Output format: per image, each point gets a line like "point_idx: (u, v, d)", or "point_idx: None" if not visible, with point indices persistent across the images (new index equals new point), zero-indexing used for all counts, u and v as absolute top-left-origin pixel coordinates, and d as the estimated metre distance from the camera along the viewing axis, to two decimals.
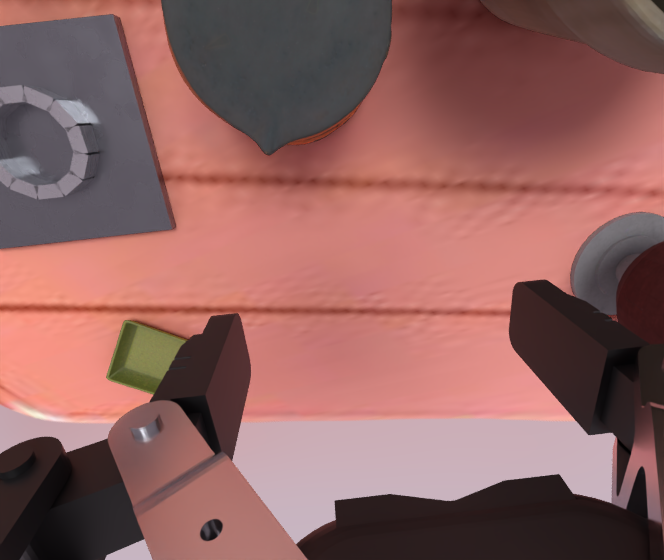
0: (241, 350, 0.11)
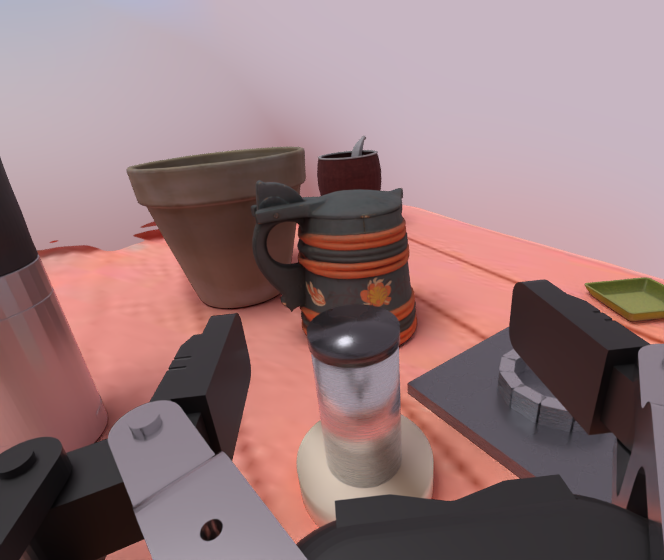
0: (241, 350, 0.11)
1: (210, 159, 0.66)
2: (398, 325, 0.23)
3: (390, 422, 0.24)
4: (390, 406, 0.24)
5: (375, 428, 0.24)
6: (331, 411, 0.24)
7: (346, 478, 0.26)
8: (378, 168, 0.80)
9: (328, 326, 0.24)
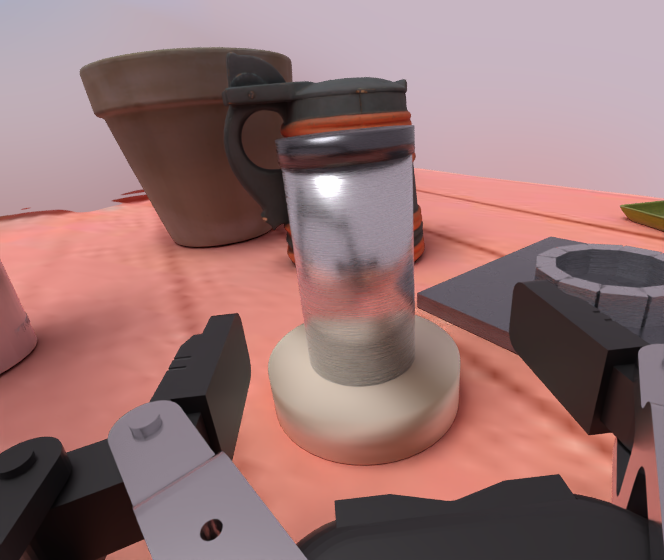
0: (241, 350, 0.11)
1: None
2: (412, 125, 0.16)
3: (400, 279, 0.16)
4: (401, 252, 0.16)
5: (377, 283, 0.16)
6: (312, 259, 0.16)
7: (337, 373, 0.18)
8: None
9: (307, 136, 0.16)
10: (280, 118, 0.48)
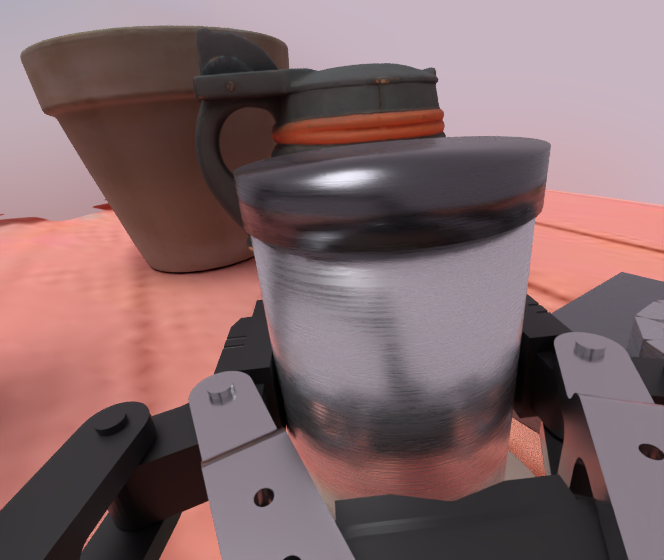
0: None
1: None
2: (535, 139, 0.07)
3: (496, 457, 0.08)
4: (503, 409, 0.08)
5: (455, 480, 0.07)
6: (314, 425, 0.08)
7: None
8: None
9: (304, 160, 0.08)
10: None
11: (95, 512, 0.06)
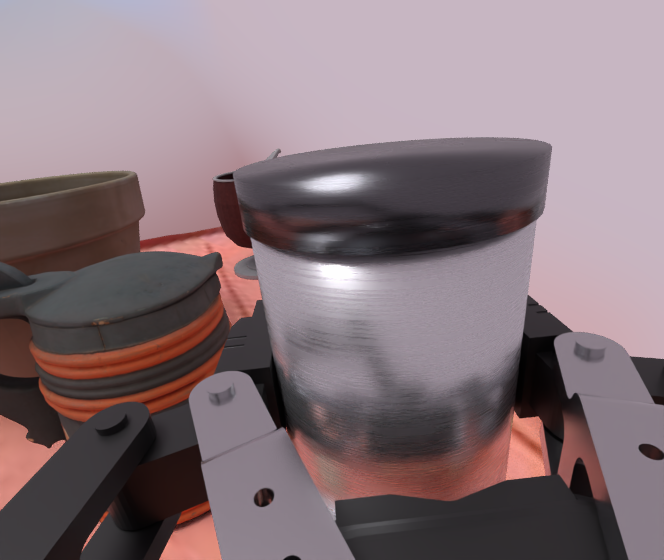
0: None
1: (35, 187, 0.49)
2: (536, 141, 0.07)
3: (497, 459, 0.08)
4: (504, 411, 0.07)
5: (456, 483, 0.07)
6: (314, 427, 0.07)
7: None
8: None
9: (304, 161, 0.08)
10: (111, 254, 0.38)
11: (95, 512, 0.06)
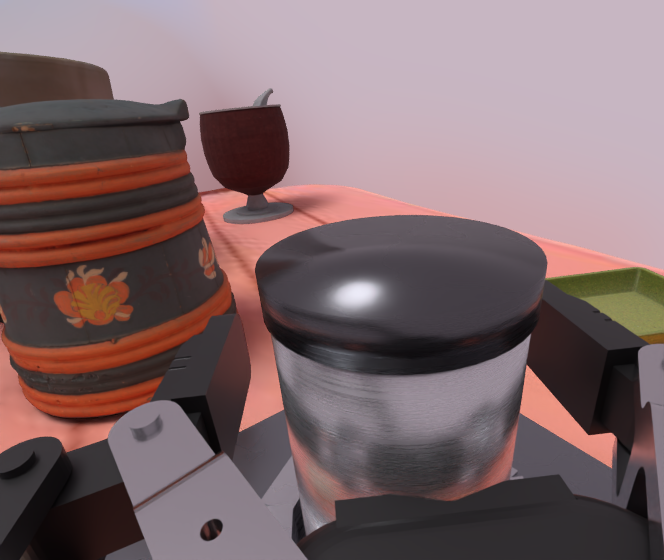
0: (241, 350, 0.11)
1: None
2: (534, 245, 0.08)
3: None
4: None
5: None
6: (326, 500, 0.08)
7: None
8: (279, 126, 0.59)
9: (319, 252, 0.08)
10: None
11: None
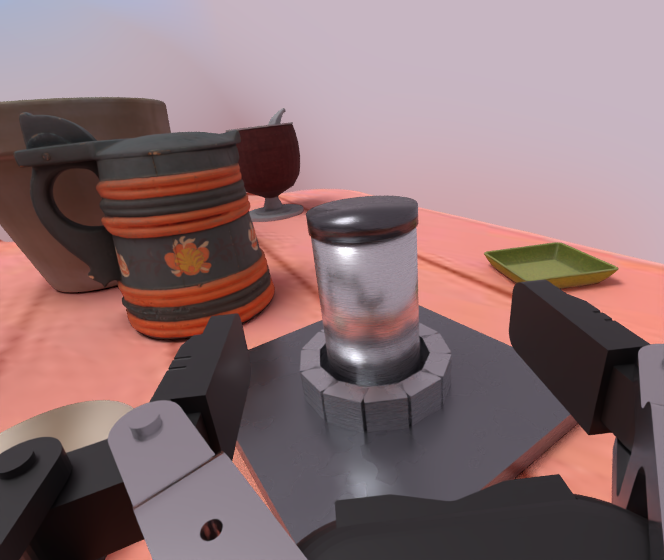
0: (241, 350, 0.11)
1: None
2: (416, 202, 0.20)
3: (407, 324, 0.20)
4: (408, 303, 0.20)
5: (389, 329, 0.20)
6: (336, 310, 0.20)
7: None
8: (292, 140, 0.72)
9: (331, 209, 0.20)
10: None
11: None
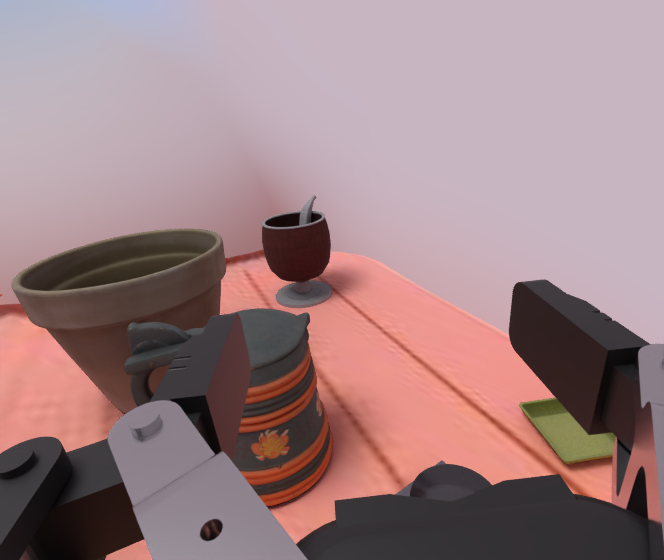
0: (241, 350, 0.11)
1: (132, 241, 0.61)
2: None
3: None
4: None
5: None
6: None
7: None
8: (325, 235, 0.76)
9: None
10: (209, 302, 0.51)
11: None
